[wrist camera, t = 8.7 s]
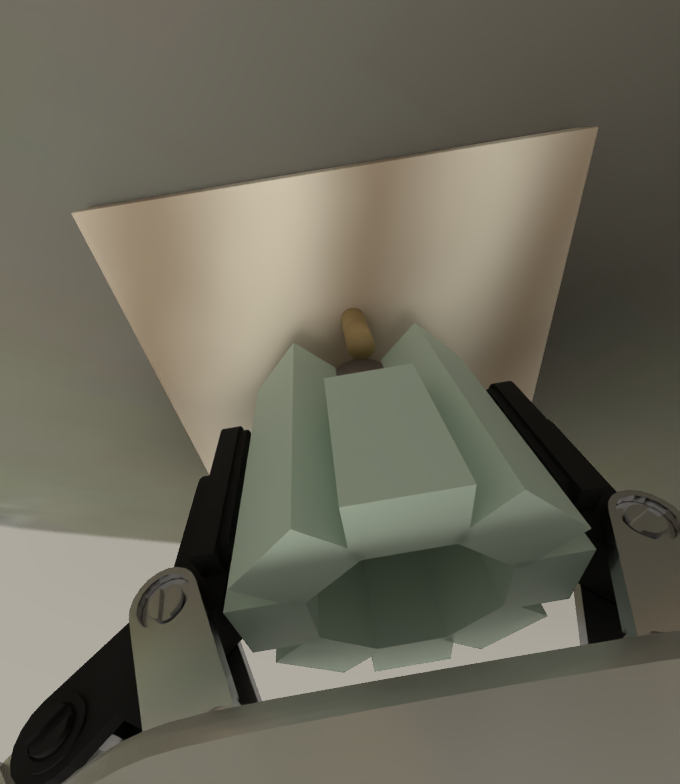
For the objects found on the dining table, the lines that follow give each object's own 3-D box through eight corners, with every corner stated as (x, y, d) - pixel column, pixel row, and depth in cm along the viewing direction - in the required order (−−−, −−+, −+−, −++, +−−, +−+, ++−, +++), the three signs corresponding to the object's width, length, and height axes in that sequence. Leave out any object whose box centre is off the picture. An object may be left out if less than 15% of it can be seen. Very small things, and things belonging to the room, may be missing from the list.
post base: (574, 127, 10) (834, 114, 5) (504, 462, 18) (578, 579, 13) (89, 207, 10) (-109, 269, 5) (237, 506, 18) (215, 639, 13)
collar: (475, 301, 10) (648, 455, 5) (458, 468, 14) (545, 642, 9) (230, 342, 10) (166, 536, 5) (285, 497, 14) (279, 688, 9)
